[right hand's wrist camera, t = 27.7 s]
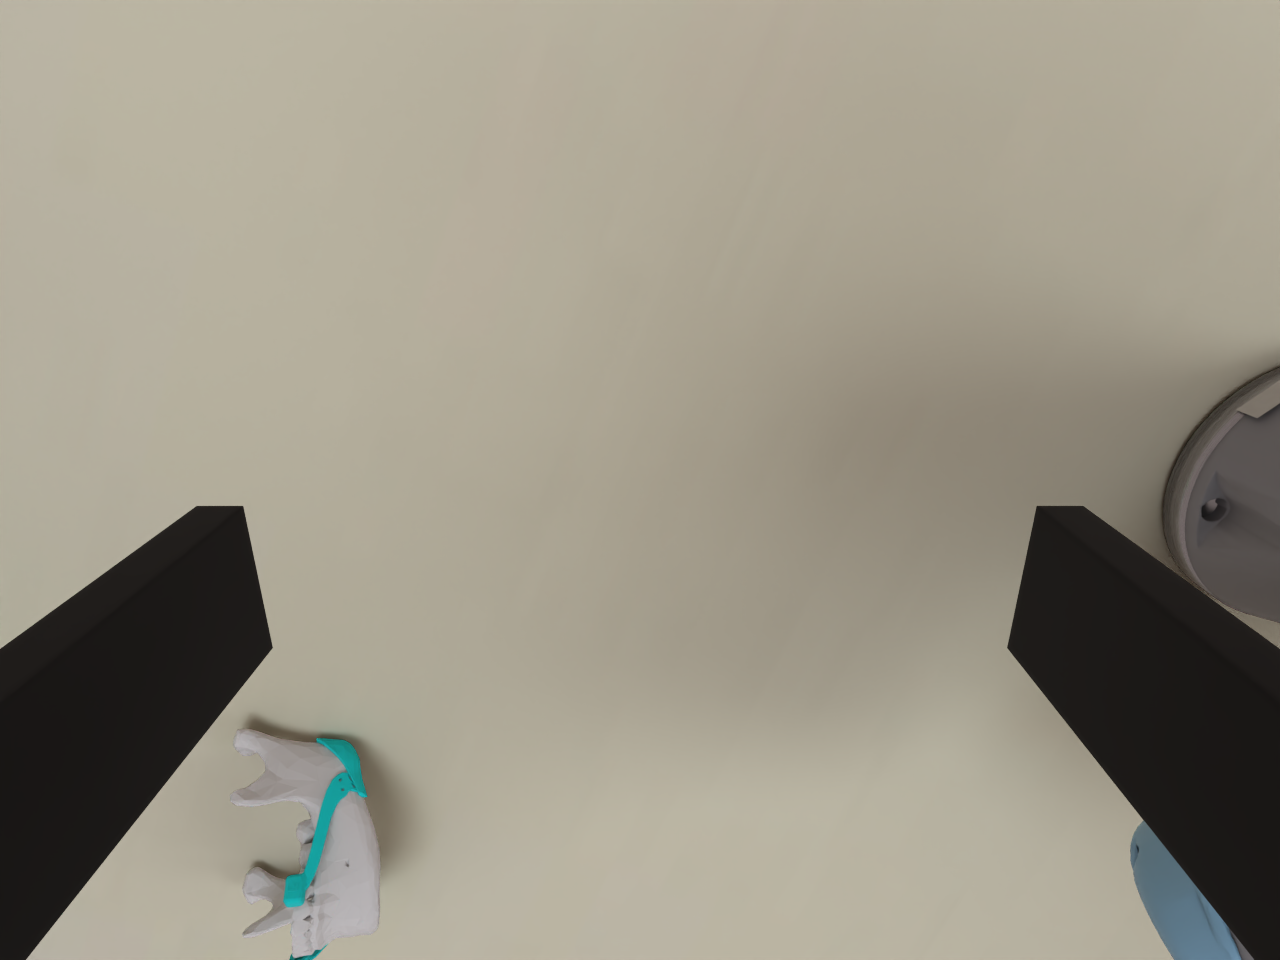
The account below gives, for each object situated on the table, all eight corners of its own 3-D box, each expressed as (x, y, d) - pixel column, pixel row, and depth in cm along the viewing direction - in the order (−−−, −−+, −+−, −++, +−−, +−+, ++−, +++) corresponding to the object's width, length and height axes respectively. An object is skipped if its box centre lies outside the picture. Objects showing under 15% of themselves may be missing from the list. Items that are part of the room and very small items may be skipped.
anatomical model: (376, 1021, 47) (198, 1041, 44) (394, 878, 56) (247, 888, 54) (375, 834, 41) (171, 847, 39) (395, 710, 51) (232, 715, 49)
